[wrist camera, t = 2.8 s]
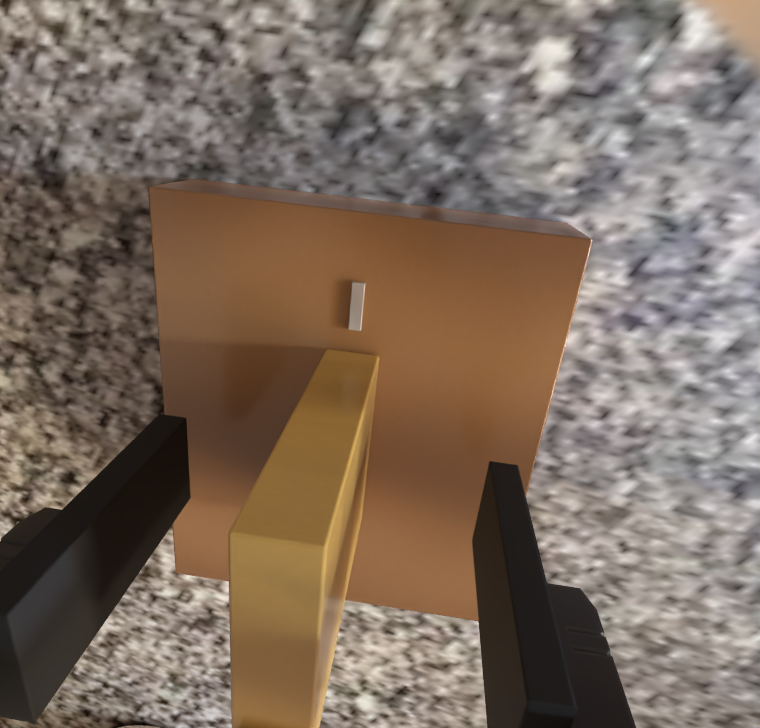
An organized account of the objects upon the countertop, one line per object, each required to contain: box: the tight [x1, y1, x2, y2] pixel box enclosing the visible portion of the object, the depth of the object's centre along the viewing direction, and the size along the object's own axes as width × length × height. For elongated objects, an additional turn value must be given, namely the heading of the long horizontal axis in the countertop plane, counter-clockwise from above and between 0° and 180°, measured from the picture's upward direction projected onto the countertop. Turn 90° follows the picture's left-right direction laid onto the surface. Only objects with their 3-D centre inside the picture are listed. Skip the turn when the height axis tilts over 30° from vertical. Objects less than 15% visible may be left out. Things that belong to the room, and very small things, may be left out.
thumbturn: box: [228, 349, 379, 728], centre depth 13 cm, size 6×2×8 cm, turn 174°
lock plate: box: [148, 179, 593, 621], centre depth 18 cm, size 14×12×3 cm
